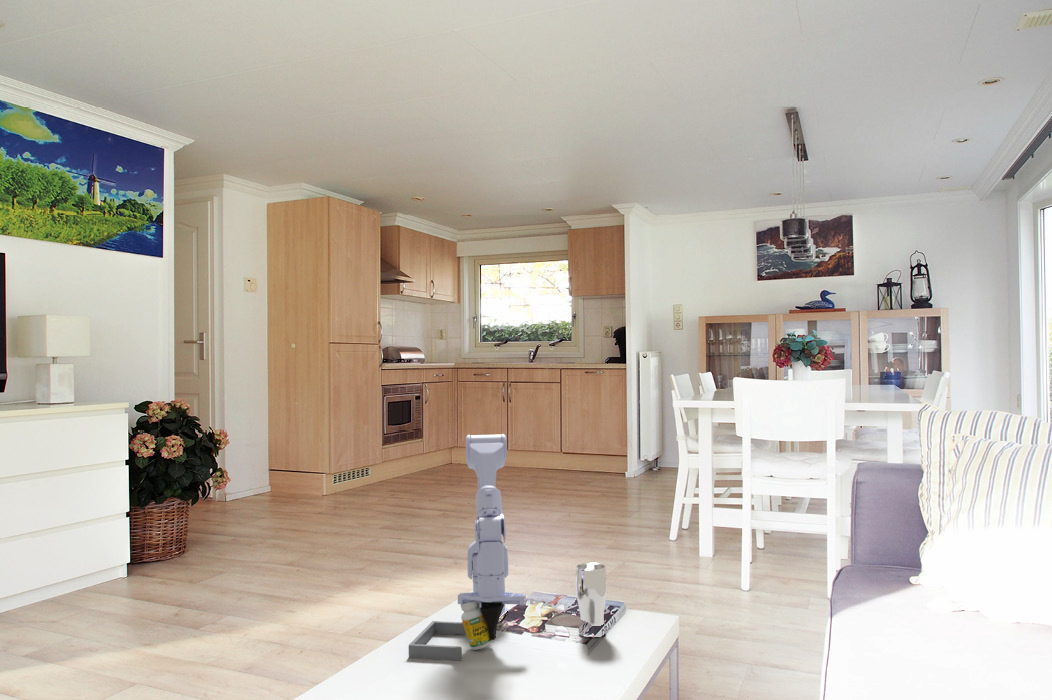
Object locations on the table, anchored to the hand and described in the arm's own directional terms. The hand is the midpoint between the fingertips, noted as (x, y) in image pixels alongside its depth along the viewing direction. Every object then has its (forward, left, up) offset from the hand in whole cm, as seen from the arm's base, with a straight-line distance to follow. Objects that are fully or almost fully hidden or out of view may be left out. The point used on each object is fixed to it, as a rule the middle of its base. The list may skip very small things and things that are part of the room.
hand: (492, 638), depth 158 cm
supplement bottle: (-1, -2, -2) cm, 3 cm away
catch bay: (-1, -10, -2) cm, 11 cm away
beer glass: (-13, +20, -3) cm, 24 cm away
